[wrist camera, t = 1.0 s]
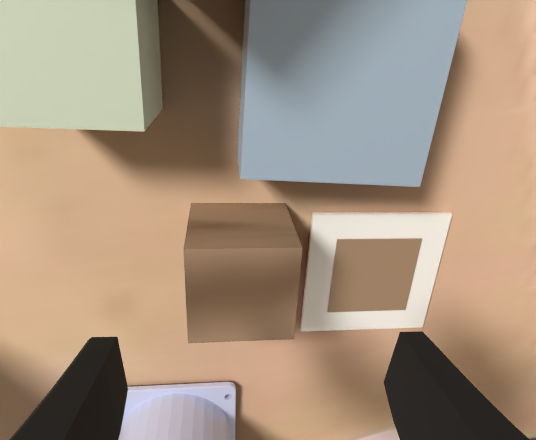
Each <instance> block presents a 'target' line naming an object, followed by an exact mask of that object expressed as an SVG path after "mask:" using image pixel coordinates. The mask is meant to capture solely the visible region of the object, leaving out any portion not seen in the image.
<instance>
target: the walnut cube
mask: <svg viewBox="0 0 536 440" xmlns="http://www.w3.org/2000/svg"><path fill="white" fill-rule="evenodd" d="M302 248H303V247H302V245H301V242H300V240H299V237H298V235H297V232H296V229H295V227H294V224H293V222H292V219H291V216H290V214H289V211H288V209H287V206H286V204H285V203H191V208H190V214H189V220H188V226H187V232H186V238H185V244H184V267H185V288H186V308H187V329H188V343H206V342H231V341H256V340H281V339H294V333H295V323H296V312H297V301H298V291H299V280H300V270H301V259H302Z"/></svg>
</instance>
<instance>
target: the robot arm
mask: <svg viewBox="0 0 536 440" xmlns="http://www.w3.org/2000/svg"><path fill="white" fill-rule="evenodd" d="M384 385H385V389H386V393H387V397H388V402H389V406H390V409H391V413H392V417H393V421H394V424H395V426H396V429H397V432H398V435H399V437H400V440H529V439H528V438H527V437H526V436H525V435H524V434H523V433H522V432H521V431H519V430H518V429H517V428H516V427H515V426H514V425H513V424H512V423H511V422H510V421H509V420H508V419H507V418H506V417H505V416H504V415H503V414H502V413H501V412H499V411H498V410H497V409H496V408H495V407H494V406H493V405H492V404H491V403H490V402H489V401H488V400H487V399H486V398H485V397H484V396H483V395H482V394H481V393H480V392H479V391H478V390H477V388H476V387H475V386H474V385H473V384H472V383H471V382H470V381H469V380H468V379H467V378H466V377H465V376H464V375H463V374H462V373H461V372H460V371H459V370H458V369H457V368H456V367H455V366H454V364H453V363H452V362H451V361H450V360H449V359H448V358H447V357H446V356H445V355H444V354H443V353H442V352H441V351H440V350H439V349H438V347H437V346H436V345H435V344H434V343H433V342H432V341H431V340H430V339H429V338H428V337H427V336H426V335H425V334H424V333H423V332H400V334H399V337H398V340H397V343H396V346H395V349H394V352H393V355H392V358H391V362H390V365H389V368H388V371H387V374H386V377H385V380H384ZM227 394H230V395H227ZM235 419H236V386H235V384H234V383H232V382H213V383H193V384H173V385H153V386H133V387H127V382H126V377H125V372H124V367H123V362H122V357H121V353H120V348H119V343H118V338H117V337H92V338H90V339H89V340H88V341H87V343H86V344H85V345H84V347H83V348H82V349H81V351H80V352H79V353H78V355H77V356H76V358H75V359H74V360H73V362H72V363H71V364H70V366H69V367H68V368H67V370H66V371H65V372H64V374H63V375H62V376H61V377H60V379H59V380H58V381H57V383H56V384H55V385H54V386H53V388H52V389H51V390H50V392H49V393H48V394H47V395H46V397H45V398H44V399H43V400H42V401H41V403H40V404H39V405H38V406H37V408H36V409H35V410H34V411H33V413H32V414H31V415H30V416H29V417H28V419H27V420H26V421H25V422H24V424H23V425H22V426H21V427H20V428H19V429H18V431H17V432H16V433H15V434H14V435H13V436H12V437H11V439H10V440H235Z"/></svg>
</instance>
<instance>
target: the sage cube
mask: <svg viewBox="0 0 536 440" xmlns="http://www.w3.org/2000/svg"><path fill="white" fill-rule="evenodd" d="M162 109H163V101H162V80H161V60H160V40H159V20H158V0H0V127H28V128H56V129H85V130H113V131H142V132H145V130H146V129H147V128H148V127H149V125H150V124H151V123H152V122H153V120H154V119H155V118H156V117H157V115H158V114H159V113H160V112H161V110H162Z"/></svg>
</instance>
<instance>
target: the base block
mask: <svg viewBox="0 0 536 440" xmlns="http://www.w3.org/2000/svg"><path fill="white" fill-rule="evenodd" d="M466 3H467V0H245V14H244V33H243V52H242V71H241V90H240V109H239V128H238V147H237V158H238V165H239V173H240V179H252V180H274V181H297V182H319V183H342V184H365V185H387V186H410V187H420V185H421V181H422V177H423V173H424V169H425V165H426V161H427V157H428V153H429V149H430V145H431V141H432V137H433V133H434V129H435V125H436V122H437V118H438V114H439V110H440V106H441V102H442V98H443V94H444V90H445V86H446V82H447V78H448V74H449V70H450V66H451V62H452V58H453V54H454V50H455V47H456V43H457V39H458V35H459V31H460V27H461V23H462V19H463V15H464V11H465V7H466Z"/></svg>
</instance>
